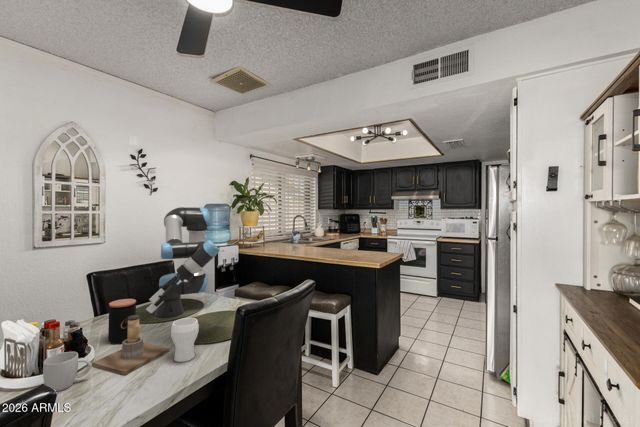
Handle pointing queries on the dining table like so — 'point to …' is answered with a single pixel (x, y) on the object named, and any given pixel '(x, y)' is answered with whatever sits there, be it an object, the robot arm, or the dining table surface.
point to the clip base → (131, 363)
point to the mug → (63, 370)
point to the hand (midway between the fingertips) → (150, 306)
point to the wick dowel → (133, 329)
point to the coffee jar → (120, 319)
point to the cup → (184, 338)
